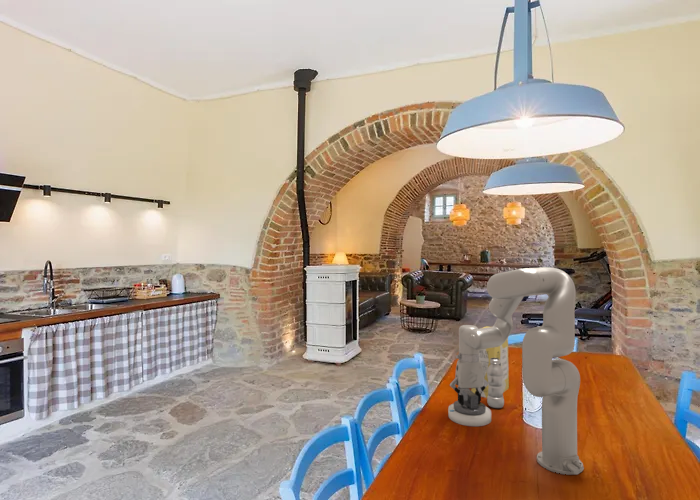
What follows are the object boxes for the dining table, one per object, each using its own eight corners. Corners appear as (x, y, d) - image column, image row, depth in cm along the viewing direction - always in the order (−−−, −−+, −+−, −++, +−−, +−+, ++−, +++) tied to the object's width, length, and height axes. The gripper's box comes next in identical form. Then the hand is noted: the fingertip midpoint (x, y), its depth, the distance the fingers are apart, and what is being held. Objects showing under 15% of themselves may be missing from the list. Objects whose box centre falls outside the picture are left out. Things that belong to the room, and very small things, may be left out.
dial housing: (499, 424, 152) (499, 415, 152) (458, 427, 150) (458, 418, 150) (479, 408, 168) (479, 400, 168) (442, 410, 166) (442, 402, 166)
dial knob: (491, 414, 154) (491, 396, 154) (461, 416, 152) (460, 398, 152) (477, 402, 166) (476, 386, 166) (448, 404, 164) (448, 388, 164)
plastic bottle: (505, 410, 165) (504, 361, 165) (487, 409, 167) (487, 360, 167) (502, 404, 172) (502, 357, 172) (486, 403, 173) (485, 356, 173)
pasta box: (486, 383, 198) (486, 326, 198) (508, 388, 192) (508, 328, 192) (471, 394, 184) (470, 332, 184) (494, 399, 178) (494, 335, 178)
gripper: (451, 361, 154) (452, 408, 154) (494, 358, 157) (494, 405, 157) (444, 356, 162) (444, 401, 162) (485, 353, 164) (485, 398, 164)
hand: (469, 403), depth 159 cm, fingers open, 6 cm apart
